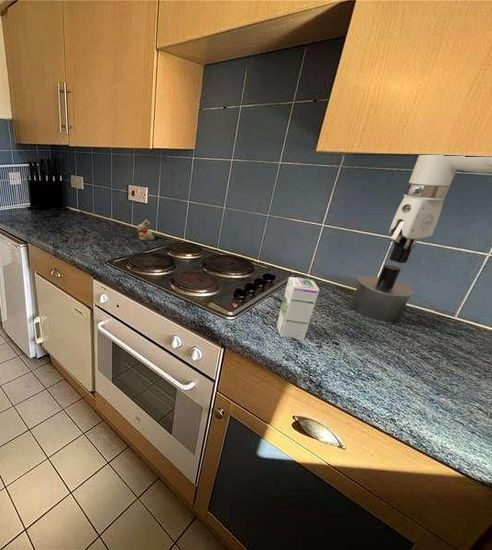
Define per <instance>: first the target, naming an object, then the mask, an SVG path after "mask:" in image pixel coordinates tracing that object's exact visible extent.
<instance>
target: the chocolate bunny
mask: <svg viewBox="0 0 492 550" xmlns="http://www.w3.org/2000/svg"><path fill="white" fill-rule="evenodd" d="M149 226H151V222H150V221H149V220H148V219H145V220H144V221H143V222H142V223H140V224H138V225H137V228H136V229H137V232H138V240H140V241H141V240H142V241H154V240H155V236H154V234H153V233H152V232H151V230H149Z"/></svg>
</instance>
